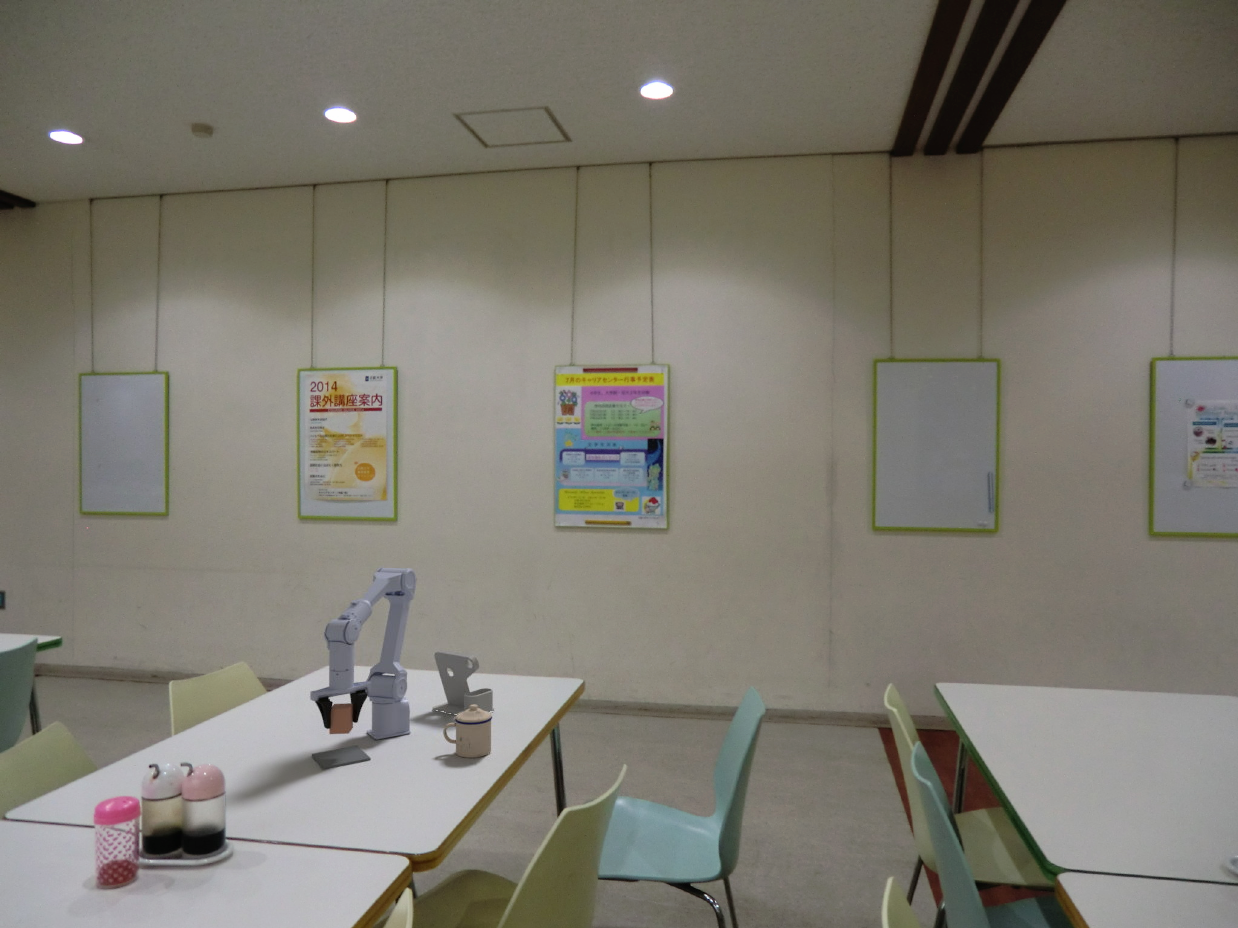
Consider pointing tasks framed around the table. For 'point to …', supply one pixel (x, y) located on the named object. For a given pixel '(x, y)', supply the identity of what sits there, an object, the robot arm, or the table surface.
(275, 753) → the table surface
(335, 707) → the brick-red block
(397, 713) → the robot arm
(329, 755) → the charcoal mat
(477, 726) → the teacup with lid
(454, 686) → the phone holder
